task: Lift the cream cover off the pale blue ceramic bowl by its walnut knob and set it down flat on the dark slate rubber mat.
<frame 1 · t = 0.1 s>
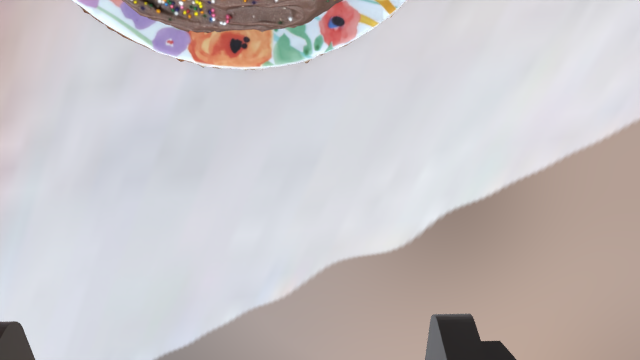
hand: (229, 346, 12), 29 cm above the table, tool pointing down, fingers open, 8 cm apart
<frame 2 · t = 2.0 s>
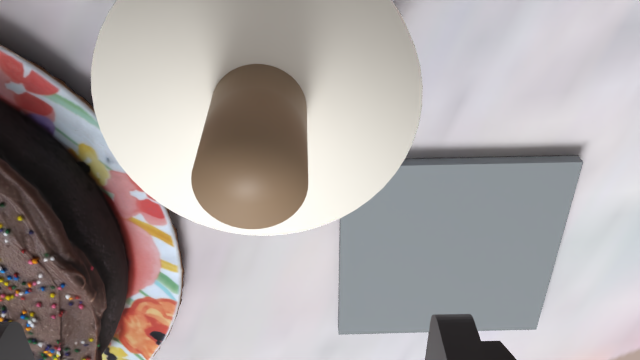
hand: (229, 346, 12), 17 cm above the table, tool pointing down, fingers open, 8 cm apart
cover: (260, 95, 21), point 5 cm above the table, touching bowl
mat: (446, 249, 33), on the table
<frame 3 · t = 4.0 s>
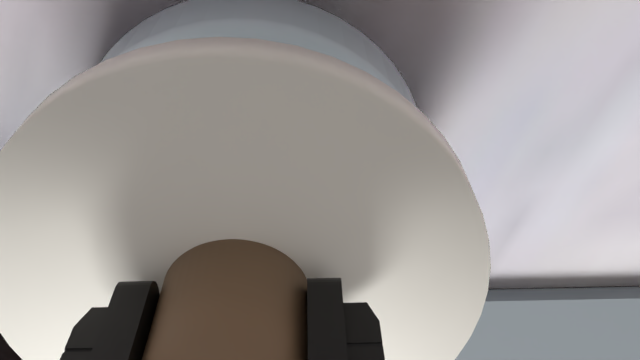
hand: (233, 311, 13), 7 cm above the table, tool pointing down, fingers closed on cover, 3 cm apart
bowl: (255, 146, 19), on the table
cover: (240, 265, 14), point 5 cm above the table, touching bowl, gripper
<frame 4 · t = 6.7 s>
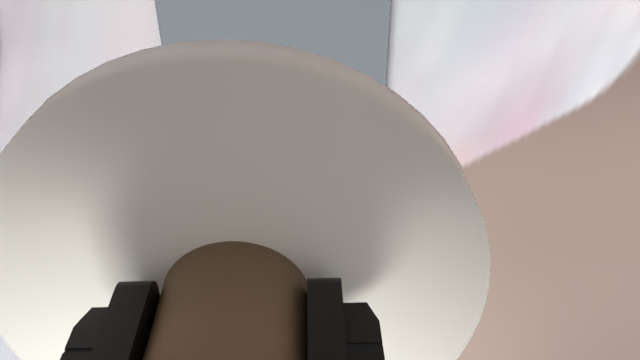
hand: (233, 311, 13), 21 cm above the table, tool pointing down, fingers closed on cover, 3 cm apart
cover: (241, 267, 14), point 20 cm above the table, touching gripper
mat: (274, 3, 30), on the table
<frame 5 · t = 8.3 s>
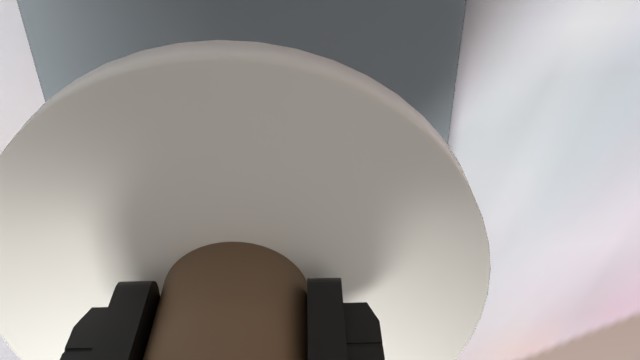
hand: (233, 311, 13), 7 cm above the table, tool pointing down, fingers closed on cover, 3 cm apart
cover: (241, 268, 14), point 6 cm above the table, touching gripper
mat: (256, 143, 19), on the table
when the fingers open (3 cm above the table, at t = 9.7 s): cover drops 1 cm, resting on mat.
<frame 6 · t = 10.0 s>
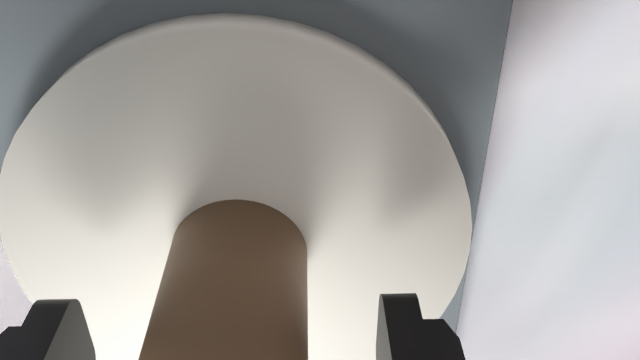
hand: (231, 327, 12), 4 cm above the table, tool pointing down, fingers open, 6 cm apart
cover: (243, 228, 15), point 1 cm above the table, touching mat
mat: (246, 214, 16), on the table
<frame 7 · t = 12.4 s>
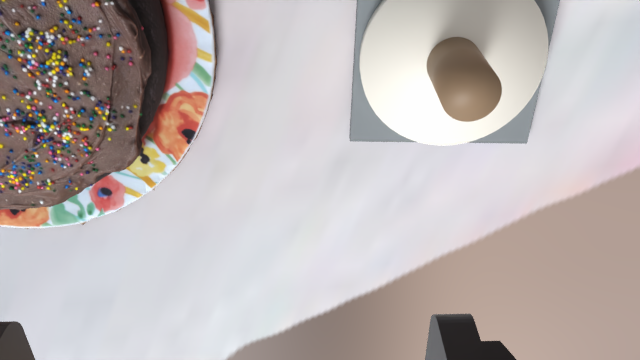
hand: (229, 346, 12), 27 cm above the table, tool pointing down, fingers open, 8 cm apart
cover: (450, 57, 36), point 1 cm above the table, touching mat
mat: (449, 53, 37), on the table
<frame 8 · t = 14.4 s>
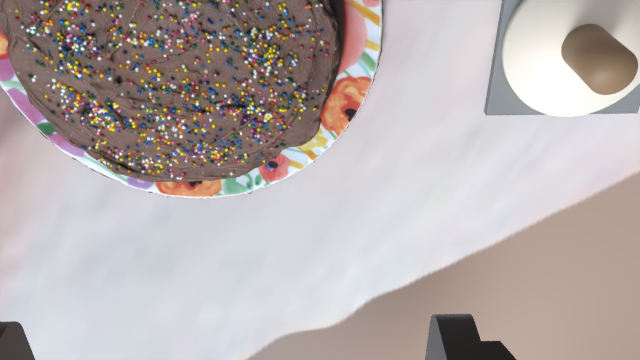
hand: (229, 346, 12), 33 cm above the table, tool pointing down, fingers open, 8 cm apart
cover: (579, 41, 43), point 1 cm above the table, touching mat
chocolate cake: (184, 26, 43), on the table
mat: (576, 38, 43), on the table
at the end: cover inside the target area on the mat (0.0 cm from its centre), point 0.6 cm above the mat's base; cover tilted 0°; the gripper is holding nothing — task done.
